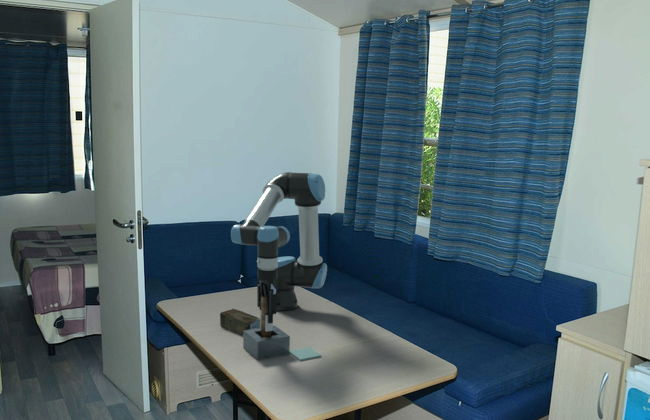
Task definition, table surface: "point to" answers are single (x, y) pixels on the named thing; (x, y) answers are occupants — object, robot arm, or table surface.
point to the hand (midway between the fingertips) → (266, 328)
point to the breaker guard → (266, 343)
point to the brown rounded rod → (263, 317)
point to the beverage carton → (238, 320)
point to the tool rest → (304, 353)
